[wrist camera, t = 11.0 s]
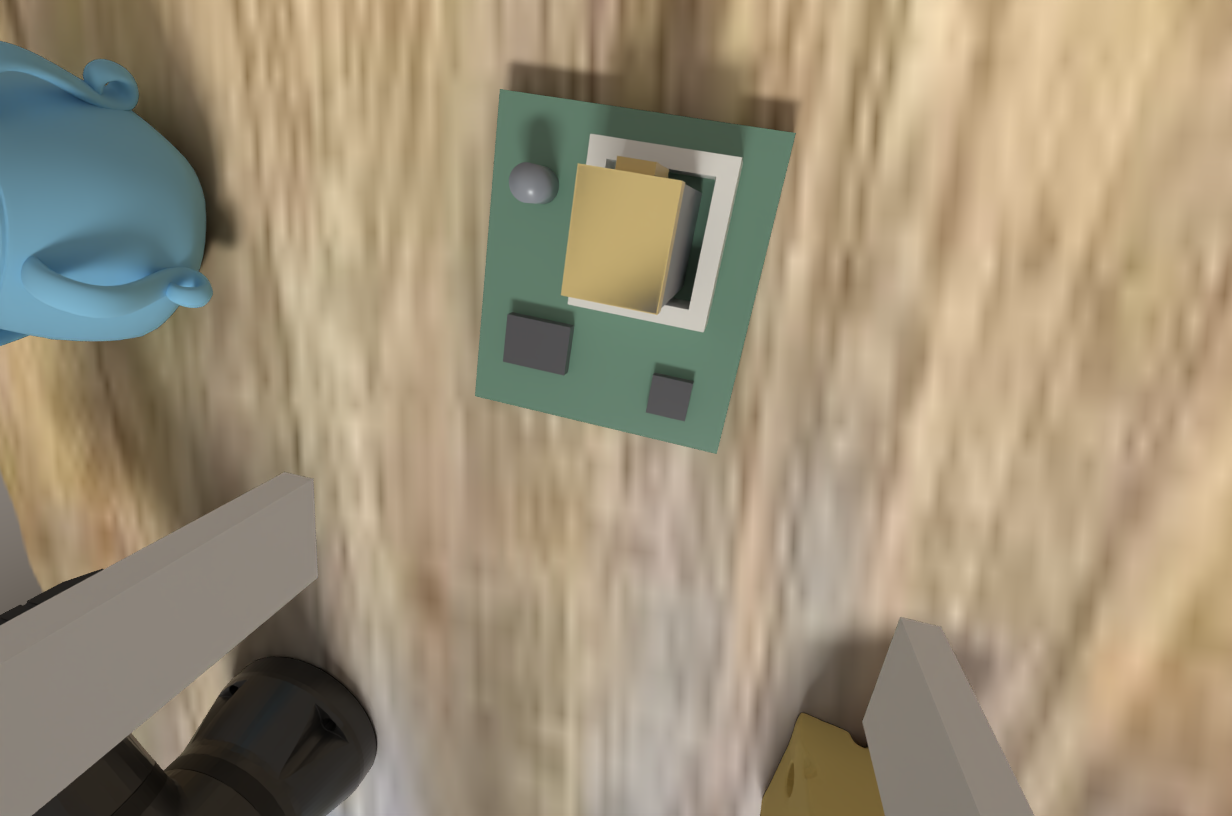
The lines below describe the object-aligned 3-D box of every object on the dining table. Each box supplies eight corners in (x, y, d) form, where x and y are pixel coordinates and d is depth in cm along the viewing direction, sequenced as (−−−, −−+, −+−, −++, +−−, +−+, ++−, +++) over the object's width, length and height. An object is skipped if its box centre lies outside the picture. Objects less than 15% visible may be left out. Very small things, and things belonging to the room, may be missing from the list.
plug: (614, 273, 33) (560, 295, 24) (631, 169, 31) (579, 147, 22) (684, 287, 32) (657, 315, 23) (705, 181, 30) (685, 164, 21)
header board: (485, 389, 39) (452, 410, 35) (510, 94, 33) (475, 76, 28) (717, 444, 36) (713, 474, 32) (793, 137, 30) (800, 123, 26)
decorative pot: (15, 100, 40) (-323, 46, 27) (198, 67, 36) (-99, -14, 24) (96, 330, 45) (-161, 373, 32) (264, 322, 41) (47, 368, 29)
